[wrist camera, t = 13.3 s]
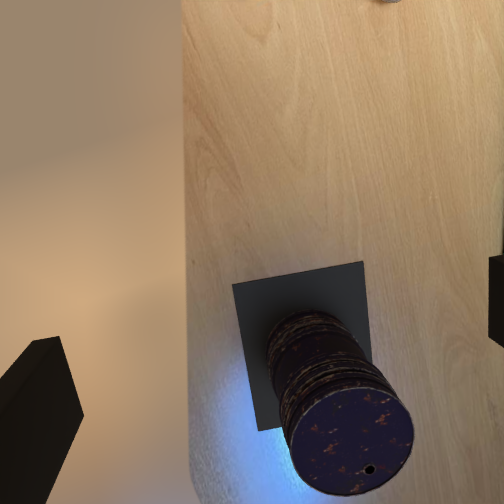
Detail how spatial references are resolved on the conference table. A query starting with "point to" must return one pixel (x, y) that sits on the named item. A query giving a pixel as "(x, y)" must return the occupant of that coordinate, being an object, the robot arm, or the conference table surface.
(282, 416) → the rusty barrel
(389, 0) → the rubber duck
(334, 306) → the mat
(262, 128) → the conference table surface
